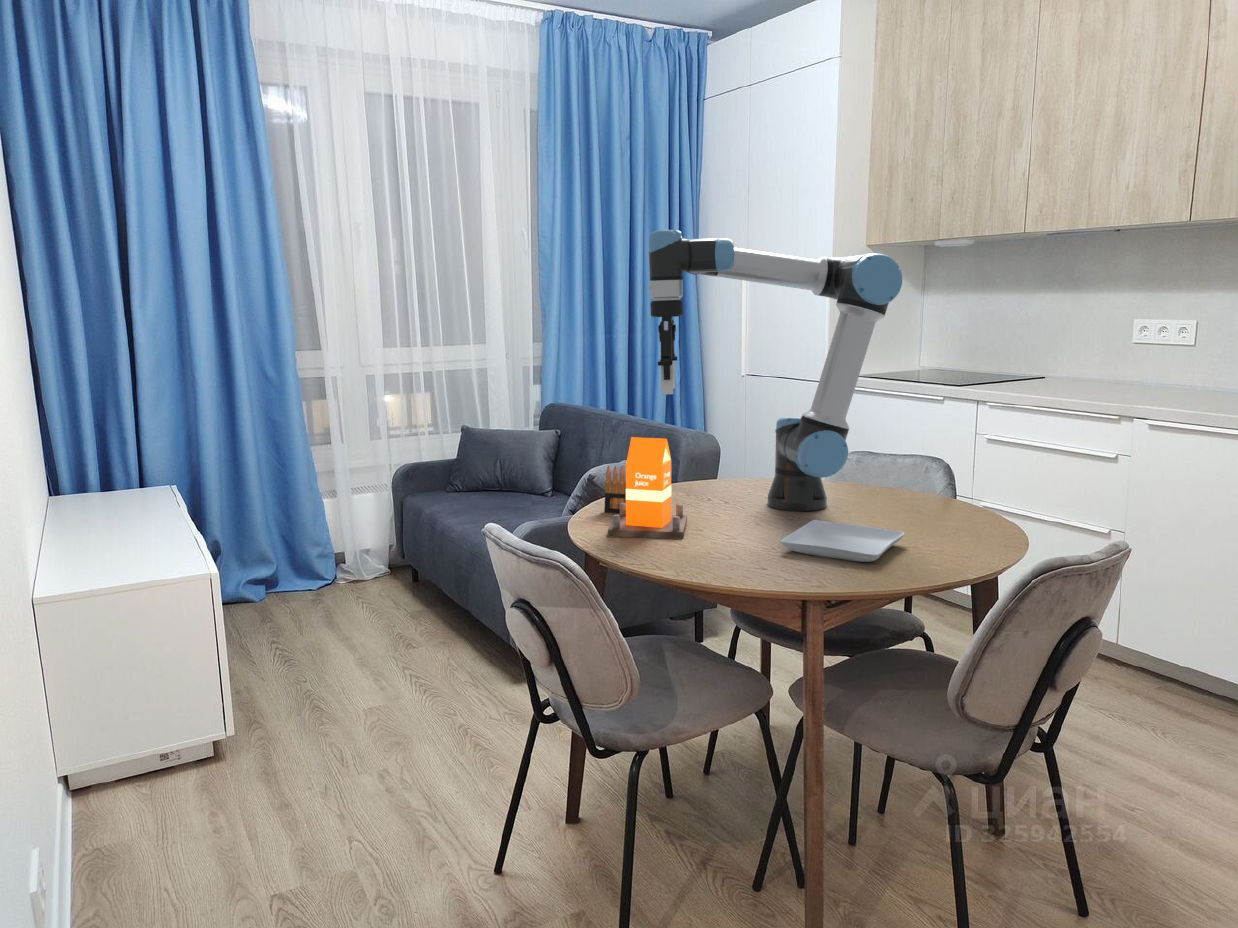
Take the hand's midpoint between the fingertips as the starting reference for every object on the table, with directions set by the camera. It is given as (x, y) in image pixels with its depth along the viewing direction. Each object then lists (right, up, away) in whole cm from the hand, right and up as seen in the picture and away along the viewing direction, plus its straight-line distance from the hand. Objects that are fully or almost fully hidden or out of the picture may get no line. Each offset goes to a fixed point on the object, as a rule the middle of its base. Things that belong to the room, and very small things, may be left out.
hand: (668, 391), depth 214 cm
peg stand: (-5, -32, -1) cm, 33 cm away
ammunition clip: (-10, -30, +15) cm, 35 cm away
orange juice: (-5, -31, -1) cm, 31 cm away
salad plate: (+36, -36, -19) cm, 54 cm away
